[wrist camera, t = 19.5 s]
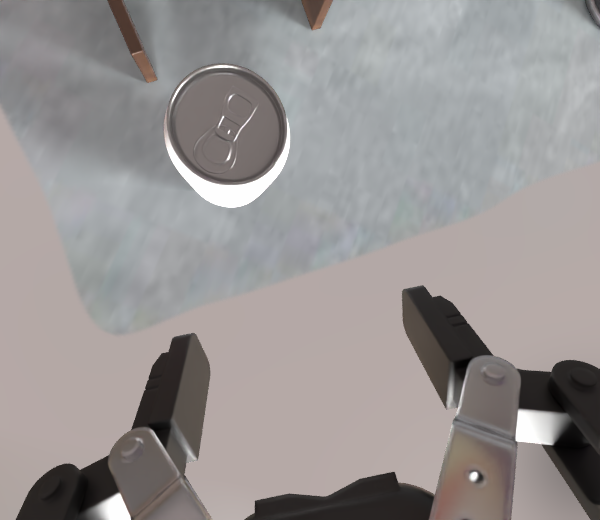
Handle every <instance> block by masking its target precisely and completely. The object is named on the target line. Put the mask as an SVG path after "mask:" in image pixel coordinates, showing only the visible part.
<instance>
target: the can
mask: <svg viewBox="0 0 600 520" xmlns="http://www.w3.org/2000/svg"><path fill="white" fill-rule="evenodd" d="M164 138H165V143H166V147H167V150H168V153H169V156H170V158H171V160H172V162H173V164H174V165H175V167H176V168H177V170H178V171H179V172H180V174H181V175H182V176H183V177H184V178H185V180H186V181H187V182H188V183H189V184H190V185H191V186H192V187H193V188H194V189H195V190H196V191H197V192H198V193H199V194H200V195H201V196H202V197H203V198H204V199H206V200H208V201H209V202H211V203H214V204H216V205H220V206H224V207H238V206H242V205H245V204H248V203H249V202H251V201H253V200H254V199H256V198H257V197H258V196H259V195H260V194H261V193H262V192H263V191H264V190H265V189H266V188H267V187H268V186H269V185H270V184H271V183H272V182H273V180H274V179H275V178H276V177H277V175H278V174H279V173H280V171H281V169H282V168H283V166H284V163H285V161H286V158H287V155H288V151H289V145H290V130H289V124H288V120H287V117H286V114H285V110H284V107H283V105H282V103H281V100H280V99H279V97H278V95H277V94H276V92H275V91H274V89H273V88H272V87H271V86H270V85H269V84H268V83H267V82H266V81H265V80H264V79H263V78H262V77H260V76H259V75H258V74H256V73H254V72H253V71H251V70H249V69H247V68H244V67H241V66H238V65H233V64H212V65H207V66H204V67H201V68H199V69H197V70H195V71H193V72H192V73H190V74H189V75H187V76H186V77H185V78H184V79H183V80H182V81H181V82H180V83H179V85H178V86H177V87H176V89H175V90H174V92H173V94H172V96H171V99H170V101H169V105H168V107H167V110H166V114H165V119H164Z"/></svg>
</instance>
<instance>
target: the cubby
mask: <svg viewBox="0 0 600 520" xmlns="http://www.w3.org/2000/svg"><path fill="white" fill-rule="evenodd" d="M107 1H108V3H109V5H110V7H111V10H112V12H113V14H114V17H115V19H116V21H117V23H118V26H119V28H120V30H121V33H122V35H123V37H124V39H125V42H126V44H127V46H128V48H129V51H130V53H131V55H132V57H133V58H134V60H135V62H136V64H137V65H138V67H139V69H140V71H141V72H142V74H143V76H144V78H145V79H146V81H147V83H149V82H153V81H156V80H157V77H156V75H155V72H154V70H153V68H152V65H151V63H150V61H149V58H148V56H147V54H146V52H145V49H144V47H143V45H142V42H141V40H140V38H139V35H138V33H137V31H136V28H135V26H134V24H133V21H132V19H131V17H130V14H129V12H128V10H127V8H126V5H125V3H124V1H123V0H107ZM301 1H302V3H303V6H304V9H305V12H306V15H307V18H308V21H309V23H310V26H311V29H312V30H315V29H318V28H320V27H321V25H322V23H323V21H324V19H325V16H326V14H327V12H328V10H329V8H330V5H331V3H332V1H333V0H301Z"/></svg>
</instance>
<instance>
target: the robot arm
mask: <svg viewBox="0 0 600 520" xmlns="http://www.w3.org/2000/svg"><path fill="white" fill-rule="evenodd" d="M585 2H586V5H587V8H588V10H589V13H590V15H591V16H592V18H593V20H594V21H595V22H596V24H597V25H598V26H599V27H600V0H585ZM402 306H403V324H404V328H405V331H406V334H407V336H408V338H409V340H410V342H411V344H412V346H413V347H414V349H415V351H416V353H417V355H418V357H419V359H420V361H421V363H422V365H423V366H424V368H425V370H426V372H427V374H428V376H429V378H430V380H431V382H432V383H433V385H434V387H435V389H436V391H437V393H438V395H439V396H440V398H441V400H442V402H443V404H444V406H445V408H446V409H451V408H456V407H457V413H456V417H455V419H454V420H453V423H452V427H451V431H450V435H449V439H448V443H447V447H446V451H445V455H444V460H443V464H442V468H441V472H440V476H439V480H438V484H437V489H436V493H435V495H434V494H433V493H431V492H429V491H427V490H425V489H423V488H420V487H417V486H414V485H410V484H406V483H398V481H397V478H396V475H395V472H391V473H386V474H381V475H376V476H372V477H367V478H362V479H359V480H357V481H355V482H353V483H352V484H350V485H348V486H346V487H344V488H342V489H340V490H339V491H337V492H335V493H333V494H331V495H329V496H326V497H320V496H310V495H299V494H285V495H281V496H276V497H271V498H267V499H261V500H257V501H255V513H254V514H252V515H250V516H249V517H247V518H246V519H245V520H511V513H512V502H513V490H514V480H515V469H516V457H517V441H521V442H529V443H538V444H542V446H543V448H544V449H545V451H546V452H547V454H548V455H549V457H550V458H551V460H552V461H553V463H554V464H555V466H556V467H557V469H558V471H559V472H560V474H561V475H562V477H563V478H564V480H565V481H566V483H567V484H568V486H569V487H570V489H571V490H572V492H573V493H574V495H575V496H576V498H577V500H578V501H579V503H580V504H581V506H582V507H583V509H584V510H585V512H586V513H587V515H588V516H589V518H590V519H591V520H600V369H598V368H597V367H595V366H593V365H590V364H588V363H585V362H581V361H576V360H566V361H561V362H559V363H557V364H555V366H554V367H553V369H552V372H543V371H528V370H520V369H516V368H515V367H514V366H513V365H512V364H511V363H509V362H508V361H506V360H504V359H502V358H499V357H495V356H493V354H492V353H491V352H490V351H489V349H488V348H487V347H486V345H485V344H484V343H483V342H482V340H481V339H480V338H479V336H478V335H477V334H476V333H475V331H474V330H473V329H472V328H471V326H470V325H469V324H467V321H466V320H465V319H464V317H463V316H462V315H461V314H460V312H459V311H458V310H457V308H456V307H455V306H454V304H453V303H451V302H450V301H448V300H447V299H445V298H443V297H442V296H437V297H432V296H431V295H430V293H429V292H428V291H427V289H426V288H425V287H424V286H417V287H413V288H408V289H404V290H403V291H402ZM209 380H210V365H209V362H208V359H207V357H206V354H205V352H204V350H203V348H202V346H201V344H200V342H199V340H198V338H197V336H196V334H195V333H191V334H186V335H181V336H176V337H174V338H173V339H172V342H171V345H170V349H169V352H167V353H162V354H161V355H160V357H159V358H158V359H157V361H156V362H155V363H154V365H153V366H152V369H151V373H150V375H149V380H148V381H147V384H146V387H145V389H146V390H145V391H144V393H143V396H142V399H141V402H140V406H139V408H138V411H137V414H136V418H135V420H134V423H133V426H132V429H131V431H129V432H127V433H126V434H124V435H123V436H122V437H121V438H120V439H119V440H118V441H117V442H116V443H115V445H114V446H113V448H112V449H111V451H110V454H109V455H108V456H106V457H105V458H103V459H101V460H99V461H97V462H95V463H93V464H91V465H89V466H87V467H85V468H83V469H81V470H79V469H78V468H77V467H76V466H75V465H73V464H62V465H59V466H57V467H55V468H53V469H51V470H50V471H48V472H47V473H46V474H44V475H43V476H42V477H41V478H40V479H39V480H38V481H37V482H36V483H35V484H34V486H33V487H32V488H31V490H30V491H29V493H28V495H27V497H26V499H25V501H24V503H23V505H22V507H21V510H20V512H19V514H18V516H17V518H16V520H213V519H212V518H211V516H210V514H209V513H208V511H207V510H206V508H205V507H204V505H203V503H202V502H201V500H200V499H199V497H198V495H197V494H196V492H195V491H194V489H193V488H192V486H191V484H190V483H189V481H188V480H187V478H186V476H185V475H184V473H185V468H186V463H188V462H192V461H197V460H198V456H199V449H200V442H201V436H202V428H203V422H204V415H205V408H206V401H207V394H208V387H209Z"/></svg>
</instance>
